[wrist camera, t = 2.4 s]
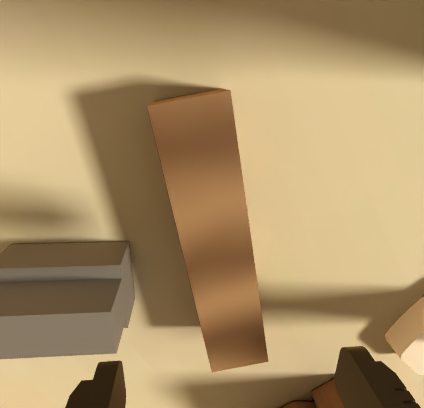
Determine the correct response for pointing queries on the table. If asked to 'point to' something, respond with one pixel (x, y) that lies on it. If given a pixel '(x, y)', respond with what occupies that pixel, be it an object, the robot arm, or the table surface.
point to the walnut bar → (212, 222)
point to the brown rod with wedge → (321, 398)
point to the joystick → (409, 337)
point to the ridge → (64, 298)
